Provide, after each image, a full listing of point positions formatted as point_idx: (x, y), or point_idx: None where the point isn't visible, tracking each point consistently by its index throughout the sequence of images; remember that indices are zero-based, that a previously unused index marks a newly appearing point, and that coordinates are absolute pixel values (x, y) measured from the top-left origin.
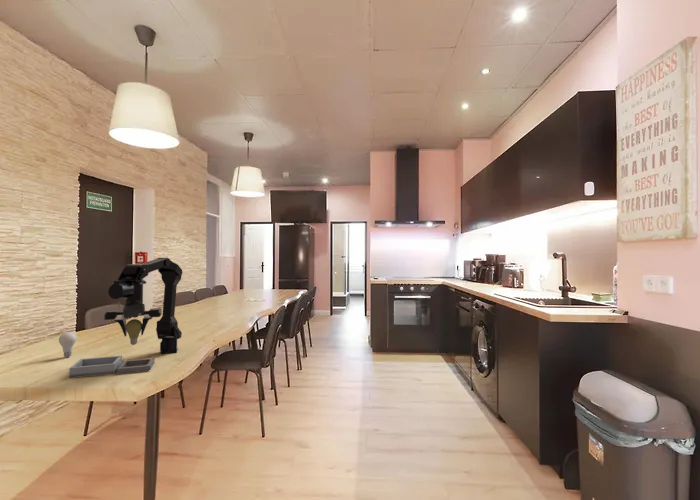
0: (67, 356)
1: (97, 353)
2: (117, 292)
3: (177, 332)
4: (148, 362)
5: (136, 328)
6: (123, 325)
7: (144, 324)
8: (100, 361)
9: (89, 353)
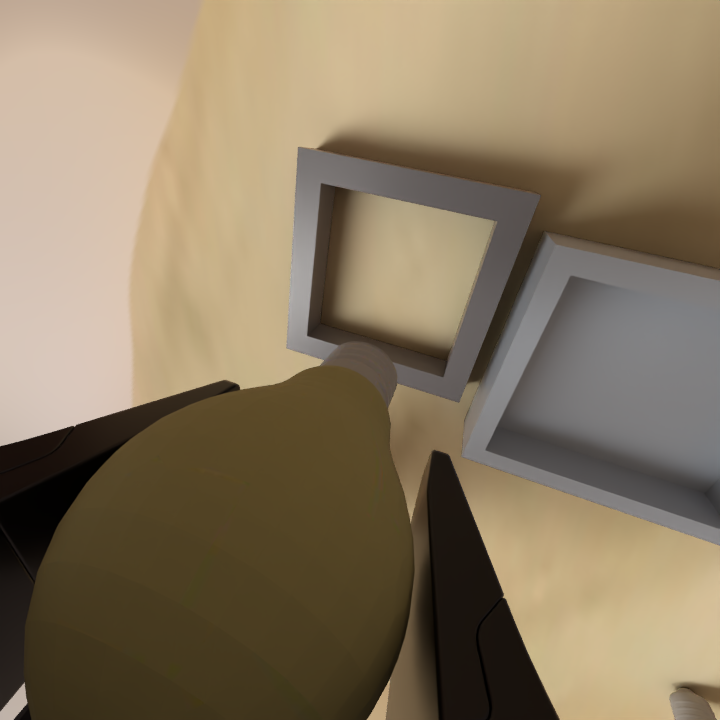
0: (693, 693)
1: (539, 649)
2: None
3: None
4: (326, 330)
5: (192, 412)
6: (464, 675)
7: (3, 460)
8: (597, 471)
9: (571, 670)
